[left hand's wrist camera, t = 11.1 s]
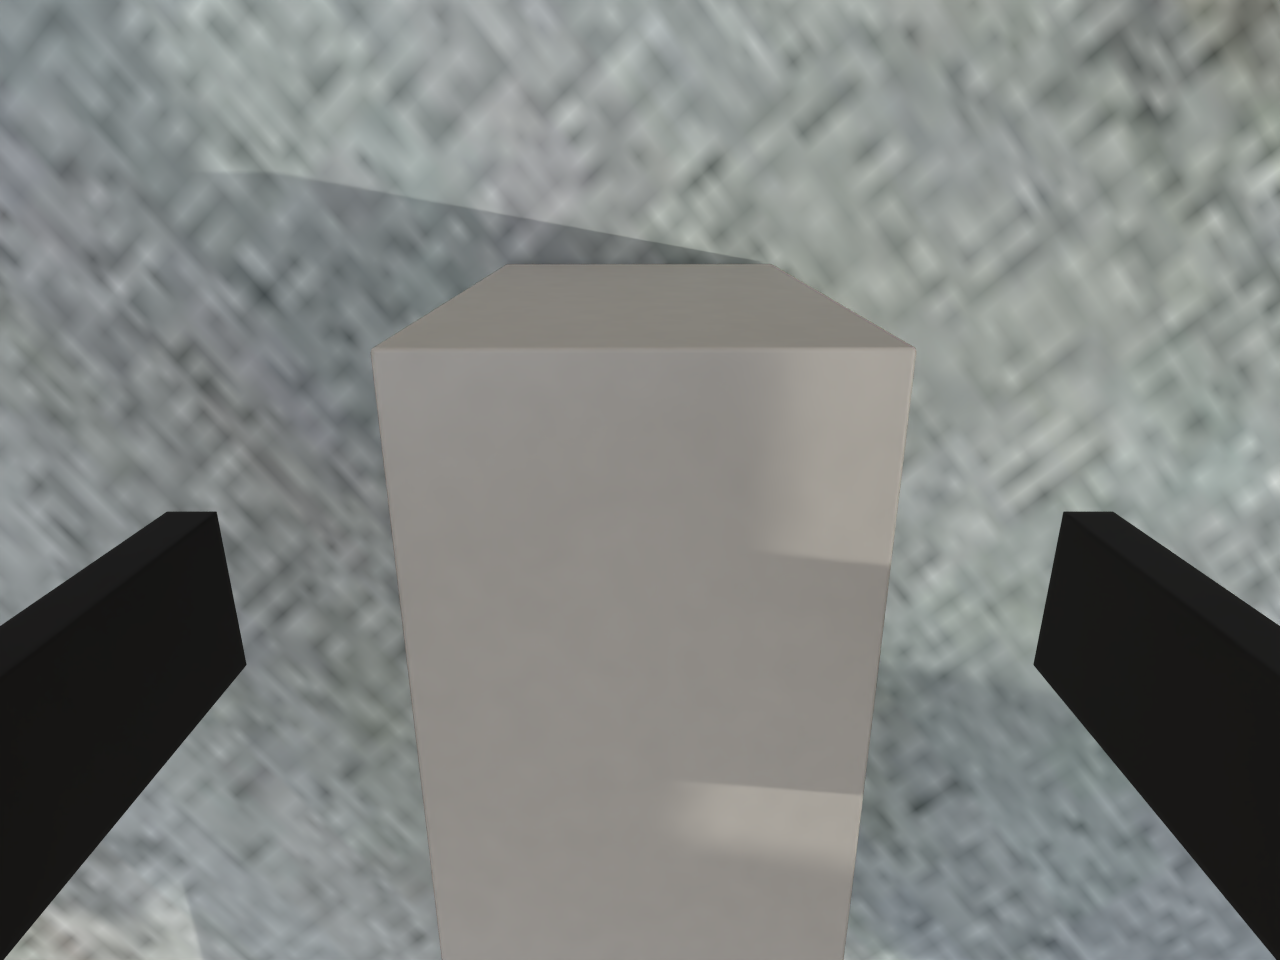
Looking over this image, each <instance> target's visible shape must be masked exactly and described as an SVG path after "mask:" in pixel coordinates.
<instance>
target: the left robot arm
mask: <svg viewBox="0 0 1280 960" xmlns="http://www.w3.org/2000/svg"><path fill="white" fill-rule="evenodd" d="M245 666H246V660H245V655H244V650H243V645H242V640H241V634H240V629H239V624H238V619H237V614H236V609H235V604H234V599H233V594H232V588H231V583H230V578H229V573H228V568H227V563H226V558H225V553H224V548H223V542H222V537H221V532H220V527H219V522H218V517H217V512H166V513H164V514H163V515H162V516H160V517H159V518H157V519H156V520H154V521H153V522H151V523H150V524H148V525H147V526H145V527H144V528H143V529H141V530H140V531H138V532H137V533H135V534H134V535H132V536H131V537H129V538H128V539H127V540H125V541H124V542H122V543H121V544H119V545H118V546H116V547H115V548H113V549H112V550H110V551H109V552H108V553H106V554H105V555H103V556H102V557H100V558H99V559H97V560H96V561H94V562H93V563H92V564H90V565H89V566H87V567H86V568H84V569H83V570H81V571H80V572H78V573H77V574H75V575H74V576H73V577H71V578H70V579H68V580H67V581H65V582H64V583H62V584H61V585H59V586H58V587H57V588H55V589H54V590H52V591H51V592H49V593H48V594H46V595H45V596H43V597H42V598H40V599H39V600H38V601H36V602H35V603H33V604H32V605H30V606H29V607H27V608H26V609H24V610H23V611H22V612H20V613H19V614H17V615H16V616H14V617H13V618H11V619H10V620H8V621H7V622H5V623H4V624H3V625H1V626H0V960H4V959H5V957H6V956H7V955H8V954H9V952H10V951H11V950H12V949H13V948H14V946H15V945H16V944H17V943H18V942H19V940H20V939H21V938H22V937H23V935H24V934H25V933H26V932H27V931H28V929H29V928H30V927H31V926H32V925H33V923H34V922H35V921H36V920H37V918H38V917H39V916H40V915H41V914H42V912H43V911H44V910H45V909H46V908H47V906H48V905H49V904H50V903H51V901H52V900H53V899H54V898H55V897H56V895H57V894H58V893H59V892H60V891H61V889H62V888H63V887H64V886H65V884H66V883H67V882H68V881H69V880H70V878H71V877H72V876H73V875H74V874H75V872H76V871H77V870H78V869H79V867H80V866H81V865H82V864H83V863H84V861H85V860H86V859H87V858H88V857H89V855H90V854H91V853H92V852H93V851H94V849H95V848H96V847H97V846H98V844H99V843H100V842H101V841H102V840H103V838H104V837H105V836H106V835H107V834H108V832H109V831H110V830H111V829H112V827H113V826H114V825H115V824H116V823H117V821H118V820H119V819H120V818H121V817H122V815H123V814H124V813H125V812H126V810H127V809H128V808H129V807H130V806H131V804H132V803H133V802H134V801H135V800H136V798H137V797H138V796H139V795H140V793H141V792H142V791H143V790H144V789H145V787H146V786H147V785H148V784H149V783H150V781H151V780H152V779H153V778H154V776H155V775H156V774H157V773H158V772H159V770H160V769H161V768H162V767H163V766H164V764H165V763H166V762H167V761H168V760H169V758H170V757H171V756H172V755H173V753H174V752H175V751H176V750H177V749H178V747H179V746H180V745H181V744H182V743H183V741H184V740H185V739H186V738H187V736H188V735H189V734H190V733H191V732H192V730H193V729H194V728H195V727H196V726H197V724H198V723H199V722H200V721H201V719H202V718H203V717H204V716H205V715H206V713H207V712H208V711H209V710H210V709H211V707H212V706H213V705H214V704H215V702H216V701H217V700H218V699H219V698H220V696H221V695H222V694H223V693H224V692H225V690H226V689H227V688H228V687H229V685H230V684H231V683H232V682H233V681H234V679H235V678H236V677H237V676H238V675H239V673H240V672H241V671H242V670H243V668H244V667H245ZM1034 666H1035V667H1036V668H1037V670H1038V671H1039V672H1040V673H1041V675H1042V676H1043V677H1044V678H1045V679H1046V681H1047V682H1048V683H1049V684H1050V685H1051V687H1052V688H1053V689H1054V690H1055V692H1056V693H1057V694H1058V695H1059V696H1060V698H1061V699H1062V700H1063V701H1064V702H1065V704H1066V705H1067V706H1068V707H1069V709H1070V710H1071V711H1072V712H1073V713H1074V715H1075V716H1076V717H1077V718H1078V719H1079V721H1080V722H1081V723H1082V724H1083V726H1084V727H1085V728H1086V729H1087V730H1088V732H1089V733H1090V734H1091V735H1092V736H1093V738H1094V739H1095V740H1096V741H1097V743H1098V744H1099V745H1100V746H1101V747H1102V749H1103V750H1104V751H1105V752H1106V753H1107V755H1108V756H1109V757H1110V758H1111V760H1112V761H1113V762H1114V763H1115V764H1116V766H1117V767H1118V768H1119V769H1120V770H1121V772H1122V773H1123V774H1124V775H1125V776H1126V778H1127V779H1128V780H1129V781H1130V783H1131V784H1132V785H1133V786H1134V787H1135V789H1136V790H1137V791H1138V792H1139V793H1140V795H1141V796H1142V797H1143V798H1144V800H1145V801H1146V802H1147V803H1148V804H1149V806H1150V807H1151V808H1152V809H1153V810H1154V812H1155V813H1156V814H1157V815H1158V817H1159V818H1160V819H1161V820H1162V821H1163V823H1164V824H1165V825H1166V826H1167V827H1168V829H1169V830H1170V831H1171V832H1172V834H1173V835H1174V836H1175V837H1176V838H1177V840H1178V841H1179V842H1180V843H1181V844H1182V846H1183V847H1184V848H1185V849H1186V851H1187V852H1188V853H1189V854H1190V855H1191V857H1192V858H1193V859H1194V860H1195V861H1196V863H1197V864H1198V865H1199V866H1200V867H1201V869H1202V870H1203V871H1204V872H1205V874H1206V875H1207V876H1208V877H1209V878H1210V880H1211V881H1212V882H1213V883H1214V884H1215V886H1216V887H1217V888H1218V889H1219V891H1220V892H1221V893H1222V894H1223V895H1224V897H1225V898H1226V899H1227V900H1228V901H1229V903H1230V904H1231V905H1232V906H1233V908H1234V909H1235V910H1236V911H1237V912H1238V914H1239V915H1240V916H1241V917H1242V918H1243V920H1244V921H1245V922H1246V923H1247V925H1248V926H1249V927H1250V928H1251V929H1252V931H1253V932H1254V933H1255V934H1256V935H1257V937H1258V938H1259V939H1260V940H1261V942H1262V943H1263V944H1264V945H1265V946H1266V948H1267V949H1268V950H1269V951H1270V952H1271V954H1272V955H1273V956H1274V957H1275V959H1276V960H1280V626H1279V625H1277V624H1276V623H1275V622H1273V621H1272V620H1270V619H1269V618H1267V617H1266V616H1264V615H1263V614H1261V613H1260V612H1258V611H1257V610H1256V609H1254V608H1253V607H1251V606H1250V605H1248V604H1247V603H1245V602H1244V601H1242V600H1241V599H1240V598H1238V597H1237V596H1235V595H1234V594H1232V593H1231V592H1229V591H1228V590H1226V589H1225V588H1223V587H1222V586H1221V585H1219V584H1218V583H1216V582H1215V581H1213V580H1212V579H1210V578H1209V577H1207V576H1206V575H1205V574H1203V573H1202V572H1200V571H1199V570H1197V569H1196V568H1194V567H1193V566H1191V565H1190V564H1188V563H1187V562H1186V561H1184V560H1183V559H1181V558H1180V557H1178V556H1177V555H1175V554H1174V553H1172V552H1171V551H1170V550H1168V549H1167V548H1165V547H1164V546H1162V545H1161V544H1159V543H1158V542H1156V541H1155V540H1153V539H1152V538H1151V537H1149V536H1148V535H1146V534H1145V533H1143V532H1142V531H1140V530H1139V529H1137V528H1136V527H1135V526H1133V525H1132V524H1130V523H1129V522H1127V521H1126V520H1124V519H1123V518H1121V517H1120V516H1118V515H1117V514H1116V513H1114V512H1063V517H1062V522H1061V527H1060V532H1059V537H1058V542H1057V548H1056V553H1055V558H1054V563H1053V568H1052V573H1051V578H1050V583H1049V588H1048V594H1047V599H1046V604H1045V609H1044V614H1043V619H1042V624H1041V629H1040V634H1039V640H1038V645H1037V650H1036V655H1035V660H1034Z"/></svg>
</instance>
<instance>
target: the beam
mask: <svg viewBox="0 0 1280 960" xmlns="http://www.w3.org/2000/svg"><path fill="white" fill-rule="evenodd" d="M915 359H916V349H915V347H913V346H911V345H910V344H908V343H906V342H904V341H903V340H901V339H899V338H898V337H896V336H894V335H892V334H891V333H889V332H887V331H885V330H884V329H882V328H880V327H879V326H877V325H875V324H873V323H872V322H870V321H868V320H867V319H865V318H863V317H861V316H860V315H858V314H856V313H855V312H853V311H851V310H849V309H848V308H846V307H844V306H843V305H841V304H839V303H837V302H836V301H834V300H832V299H831V298H829V297H827V296H825V295H824V294H822V293H820V292H819V291H817V290H815V289H813V288H812V287H810V286H808V285H807V284H805V283H803V282H801V281H800V280H798V279H796V278H795V277H793V276H791V275H789V274H788V273H786V272H784V271H783V270H781V269H779V268H777V267H776V266H774V265H772V264H507V265H505V266H503V267H502V268H500V269H499V270H497V271H495V272H494V273H492V274H491V275H489V276H487V277H486V278H484V279H483V280H481V281H479V282H478V283H476V284H475V285H473V286H471V287H470V288H468V289H467V290H465V291H463V292H462V293H460V294H459V295H457V296H455V297H454V298H452V299H451V300H449V301H447V302H446V303H444V304H443V305H441V306H439V307H438V308H436V309H434V310H433V311H431V312H430V313H428V314H426V315H425V316H423V317H422V318H420V319H418V320H417V321H415V322H414V323H412V324H410V325H409V326H407V327H406V328H404V329H402V330H401V331H399V332H398V333H396V334H394V335H393V336H391V337H390V338H388V339H386V340H385V341H383V342H382V343H380V344H378V345H377V346H375V347H374V348H372V350H371V360H372V368H373V377H374V385H375V394H376V402H377V411H378V419H379V428H380V436H381V445H382V453H383V462H384V470H385V479H386V487H387V496H388V504H389V513H390V521H391V530H392V538H393V547H394V556H395V564H396V573H397V581H398V590H399V598H400V607H401V615H402V624H403V632H404V641H405V649H406V658H407V666H408V675H409V683H410V692H411V700H412V709H413V717H414V726H415V734H416V743H417V752H418V760H419V769H420V777H421V786H422V794H423V803H424V811H425V820H426V828H427V837H428V845H429V854H430V862H431V871H432V879H433V888H434V896H435V905H436V913H437V922H438V930H439V939H440V947H441V956H442V960H844V952H845V943H846V935H847V927H848V918H849V910H850V902H851V893H852V885H853V877H854V868H855V860H856V852H857V843H858V835H859V827H860V818H861V810H862V801H863V793H864V785H865V776H866V768H867V760H868V751H869V743H870V735H871V726H872V718H873V710H874V701H875V693H876V685H877V676H878V668H879V660H880V651H881V643H882V635H883V626H884V618H885V610H886V601H887V593H888V585H889V576H890V568H891V560H892V551H893V543H894V535H895V526H896V518H897V509H898V501H899V493H900V484H901V476H902V468H903V459H904V451H905V443H906V434H907V426H908V418H909V409H910V401H911V393H912V384H913V376H914V368H915Z"/></svg>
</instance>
